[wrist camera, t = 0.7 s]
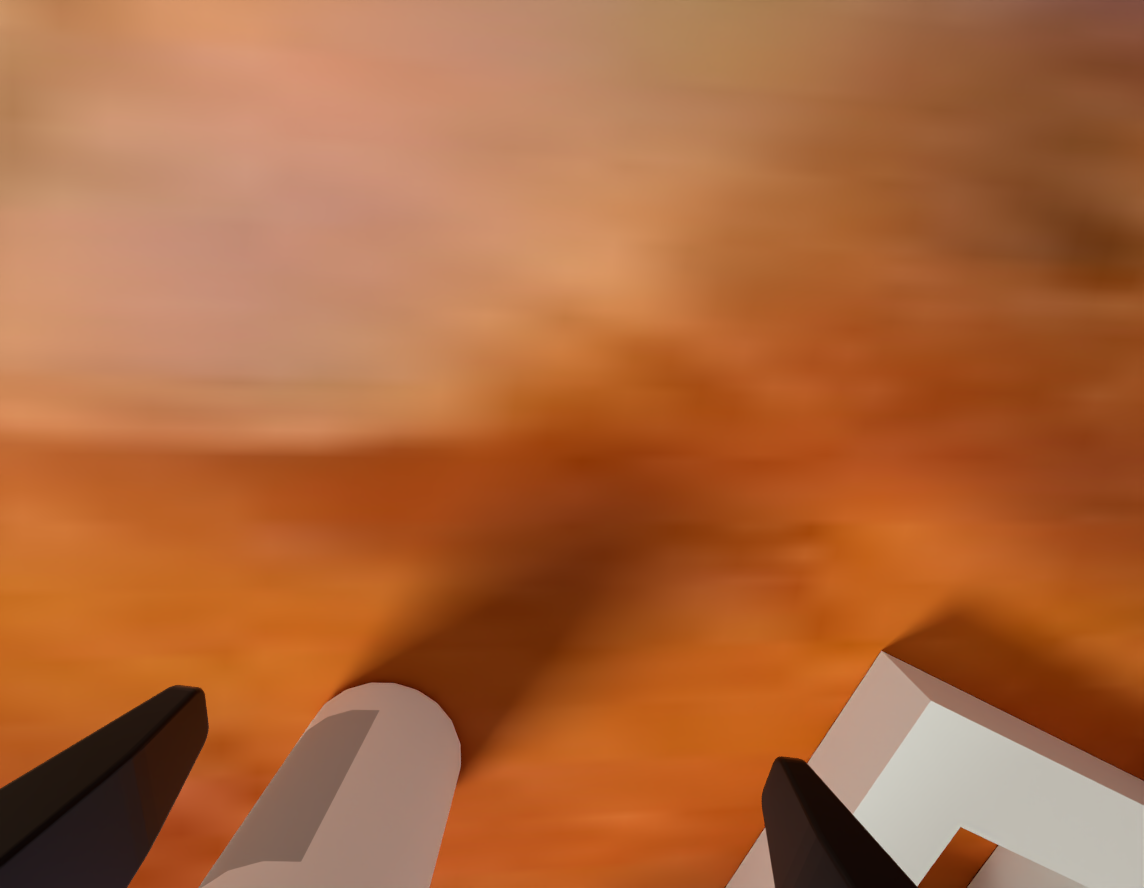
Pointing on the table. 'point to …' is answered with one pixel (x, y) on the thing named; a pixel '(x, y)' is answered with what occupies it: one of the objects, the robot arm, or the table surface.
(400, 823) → the white bottle
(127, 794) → the robot arm
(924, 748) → the socket block
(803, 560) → the table surface
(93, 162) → the table surface
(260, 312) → the table surface
